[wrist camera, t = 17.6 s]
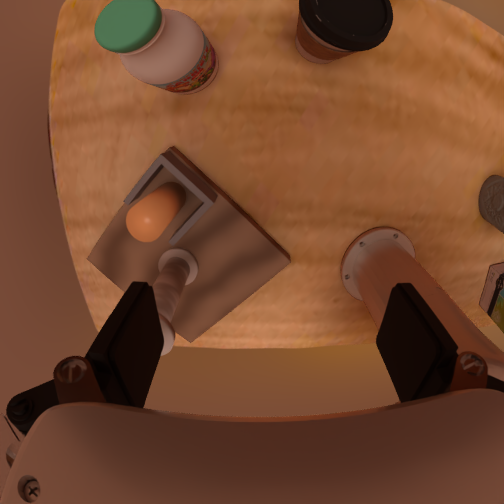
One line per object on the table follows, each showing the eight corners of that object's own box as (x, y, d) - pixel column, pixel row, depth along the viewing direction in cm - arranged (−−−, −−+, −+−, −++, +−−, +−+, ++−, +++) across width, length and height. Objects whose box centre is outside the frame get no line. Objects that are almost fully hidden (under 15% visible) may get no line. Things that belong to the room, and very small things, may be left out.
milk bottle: (149, 82, 31) (57, 57, 12) (179, 33, 28) (112, -32, 10) (199, 104, 32) (139, 86, 14) (230, 54, 29) (203, -13, 11)
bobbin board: (289, 255, 41) (307, 336, 26) (192, 335, 48) (172, 415, 32) (173, 146, 34) (114, 167, 19) (92, 253, 41) (33, 315, 26)
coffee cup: (345, 19, 26) (390, -26, 13) (352, 74, 30) (407, 51, 16) (281, 16, 27) (296, -39, 13) (288, 73, 30) (310, 41, 17)
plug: (192, 196, 35) (171, 222, 26) (173, 217, 37) (147, 249, 28) (169, 175, 34) (140, 195, 25) (151, 197, 35) (118, 223, 26)
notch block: (217, 195, 35) (214, 203, 32) (179, 235, 38) (173, 246, 34) (169, 150, 33) (160, 153, 30) (134, 194, 35) (123, 201, 32)
